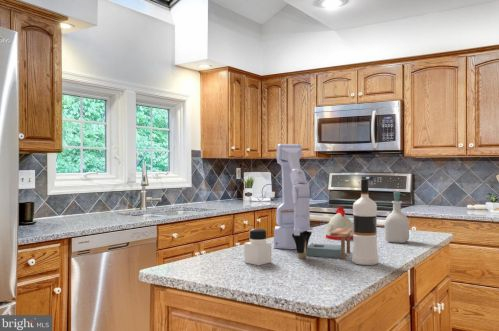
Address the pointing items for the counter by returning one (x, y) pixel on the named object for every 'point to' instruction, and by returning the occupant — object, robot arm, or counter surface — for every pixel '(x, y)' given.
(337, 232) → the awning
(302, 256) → the birch peg
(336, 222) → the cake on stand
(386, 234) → the soap bottle
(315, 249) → the socket block
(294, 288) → the counter surface
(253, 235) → the medicine bottle
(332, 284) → the counter surface
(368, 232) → the vodka
